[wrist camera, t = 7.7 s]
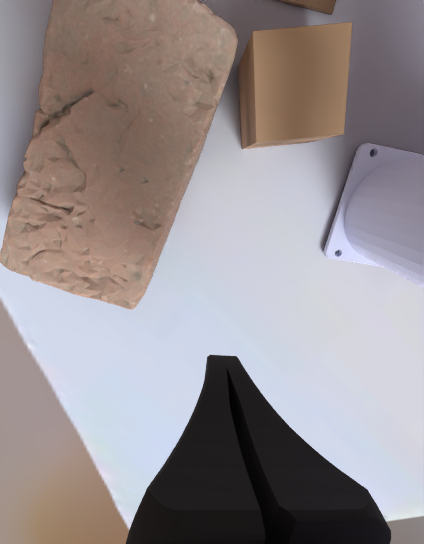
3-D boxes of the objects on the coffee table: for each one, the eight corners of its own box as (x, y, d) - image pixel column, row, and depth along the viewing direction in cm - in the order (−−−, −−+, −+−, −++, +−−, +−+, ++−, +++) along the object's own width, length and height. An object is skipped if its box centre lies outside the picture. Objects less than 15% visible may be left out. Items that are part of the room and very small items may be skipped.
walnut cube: (311, 60, 16) (352, 22, 12) (308, 142, 18) (343, 133, 14) (237, 67, 16) (252, 31, 12) (241, 149, 18) (256, 142, 13)
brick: (99, -24, 14) (57, -108, 10) (238, 56, 16) (254, 14, 12) (38, 248, 20) (-8, 272, 15) (147, 288, 21) (135, 319, 17)
